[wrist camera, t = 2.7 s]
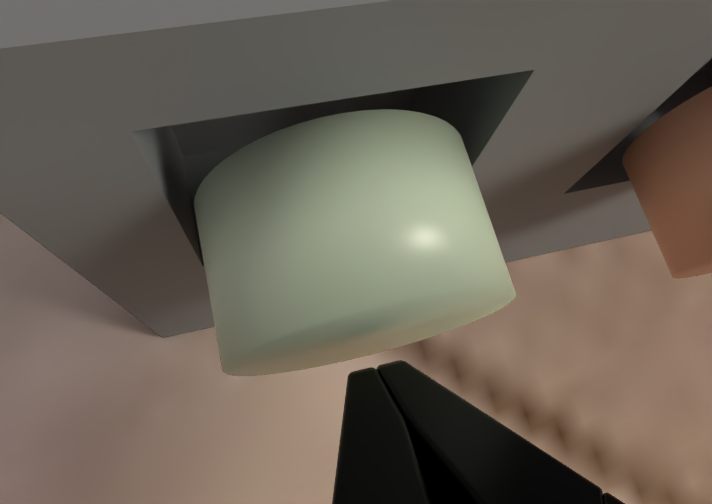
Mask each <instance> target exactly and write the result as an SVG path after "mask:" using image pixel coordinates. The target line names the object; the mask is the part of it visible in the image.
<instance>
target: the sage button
mask: <svg viewBox="0 0 712 504" xmlns="http://www.w3.org/2000/svg"><path fill="white" fill-rule="evenodd" d="M194 209H195V215H196V221H197V226H198V232H199V238H200V244H201V250H202V255H203V261H204V267H205V273H206V278H207V284H208V290H209V296H210V302H211V307H212V313H213V319H214V325H215V330H216V336H217V342H218V348H219V354H220V359H221V365H222V370H223V372H224V373H226V374H228V375H234V376H256V375H268V374H276V373H284V372H290V371H297V370H302V369H308V368H313V367H318V366H323V365H328V364H333V363H337V362H342V361H346V360H351V359H355V358H359V357H363V356H367V355H371V354H375V353H379V352H382V351H386V350H390V349H393V348H397V347H400V346H404V345H407V344H410V343H414V342H417V341H420V340H423V339H427V338H430V337H433V336H436V335H439V334H442V333H445V332H447V331H450V330H453V329H456V328H458V327H461V326H464V325H466V324H469V323H471V322H474V321H476V320H479V319H481V318H483V317H485V316H487V315H490V314H492V313H494V312H496V311H498V310H499V309H501V308H503V307H505V306H506V305H508V304H509V303H510V302H512V301H513V300H514V299H515V297H516V292H515V289H514V286H513V283H512V281H511V278H510V275H509V272H508V269H507V266H506V263H505V261H504V258H503V255H502V252H501V249H500V246H499V243H498V240H497V238H496V235H495V232H494V229H493V226H492V223H491V220H490V217H489V215H488V212H487V209H486V206H485V203H484V200H483V197H482V194H481V192H480V189H479V186H478V183H477V180H476V177H475V174H474V172H473V169H472V166H471V163H470V160H469V157H468V154H467V151H466V149H465V146H464V143H463V140H462V138H461V135H460V134H459V132H458V131H457V130H456V129H455V128H454V127H453V126H452V125H450V124H449V123H448V122H446V121H444V120H442V119H440V118H437V117H435V116H432V115H428V114H425V113H421V112H414V111H407V110H391V109H381V110H363V111H355V112H346V113H340V114H335V115H330V116H325V117H320V118H317V119H313V120H309V121H305V122H302V123H298V124H295V125H293V126H290V127H287V128H284V129H281V130H278V131H276V132H274V133H271V134H269V135H267V136H264V137H262V138H260V139H258V140H256V141H254V142H252V143H250V144H248V145H246V146H245V147H243V148H241V149H239V150H238V151H236V152H235V153H233V154H232V155H230V156H229V157H227V158H226V159H224V160H223V161H222V162H221V163H220V164H218V165H217V166H216V167H215V168H214V169H213V170H212V171H211V172H210V173H209V174H208V175H207V176H206V177H205V178H204V180H203V181H202V183H201V184H200V186H199V188H198V189H197V192H196V195H195V198H194Z"/></svg>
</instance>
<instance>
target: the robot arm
mask: <svg viewBox="0 0 712 504" xmlns="http://www.w3.org/2000/svg"><path fill="white" fill-rule="evenodd" d="M332 504H625V503H623V502H622V501H620V500H619V499H617V498H615V497H614V496H612V495H611V494H609V493H604V494H603V493H602V489H601V488H600V487H598V486H597V485H595V484H593V483H592V482H590V481H589V480H587V479H586V478H584V477H583V476H581V475H580V474H578V473H576V472H575V471H573V470H572V469H570V468H569V467H567V466H566V465H564V464H563V463H561V462H559V461H558V460H556V459H555V458H553V457H552V456H550V455H549V454H547V453H546V452H544V451H542V450H541V449H539V448H538V447H536V446H535V445H533V444H532V443H530V442H529V441H527V440H526V439H524V438H522V437H521V436H519V435H518V434H516V433H515V432H513V431H512V430H510V429H509V428H507V427H505V426H504V425H502V424H501V423H499V422H498V421H496V420H495V419H493V418H492V417H490V416H488V415H487V414H485V413H484V412H482V411H481V410H479V409H478V408H476V407H475V406H473V405H472V404H470V403H468V402H467V401H465V400H464V399H462V398H461V397H459V396H458V395H456V394H455V393H453V392H451V391H450V390H448V389H447V388H445V387H444V386H442V385H441V384H439V383H438V382H436V381H434V380H433V379H431V378H430V377H428V376H427V375H425V374H424V373H422V372H421V371H419V370H417V369H416V368H414V367H413V366H411V365H410V364H408V363H407V362H405V361H402V360H400V361H395V362H391V363H387V364H383V365H380V366H378V367H377V369H375V368H372V367H371V368H366V369H362V370H358V371H354V372H351V373H350V374H349V375H348V380H347V388H346V396H345V404H344V412H343V420H342V429H341V437H340V445H339V453H338V461H337V469H336V477H335V485H334V493H333V501H332Z"/></svg>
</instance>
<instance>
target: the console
mask: <svg viewBox="0 0 712 504" xmlns="http://www.w3.org/2000/svg"><path fill="white" fill-rule="evenodd" d="M711 86H712V0H0V213H1V214H2V215H4V216H5V217H6V218H8V219H9V220H10V221H11V222H13V223H14V224H15V225H17V226H18V227H19V228H21V229H22V230H23V231H24V232H26V233H27V234H28V235H30V236H31V237H32V238H34V239H35V240H36V241H37V242H39V243H40V244H41V245H43V246H44V247H45V248H47V249H48V250H49V251H50V252H52V253H53V254H54V255H56V256H57V257H58V258H60V259H61V260H62V261H64V262H65V263H66V264H67V265H69V266H70V267H71V268H73V269H74V270H75V271H77V272H78V273H79V274H80V275H82V276H83V277H84V278H86V279H87V280H88V281H90V282H91V283H92V284H93V285H95V286H96V287H97V288H99V289H100V290H101V291H103V292H104V293H105V294H106V295H108V296H109V297H110V298H112V299H113V300H114V301H116V302H117V303H118V304H119V305H121V306H122V307H123V308H125V309H126V310H127V311H129V312H130V313H131V314H132V315H134V316H135V317H136V318H138V319H139V320H140V321H142V322H143V323H144V324H145V325H147V326H148V327H149V328H151V329H152V330H153V331H155V332H156V333H157V334H159V335H160V336H161V337H162V338H164V337H169V336H173V335H178V334H182V333H187V332H191V331H196V330H200V329H205V328H210V327H214V326H215V325H214V319H213V313H212V307H211V302H210V296H209V290H208V284H207V278H206V273H205V267H204V261H203V255H202V250H201V244H200V238H199V232H198V226H197V221H196V215H195V209H194V198H195V195H196V192H197V189H198V188H199V186H200V184H201V183H202V181H203V180H204V178H205V177H206V176H207V175H208V174H209V173H210V172H211V171H212V170H213V169H214V168H215V167H216V166H217V165H218V164H220V163H221V162H222V161H223V160H224V159H226V158H227V157H229V156H230V155H232V154H233V153H235V152H236V151H238V150H239V149H241V148H243V147H245V146H246V145H248V144H250V143H252V142H254V141H256V140H258V139H260V138H262V137H264V136H267V135H269V134H271V133H274V132H276V131H278V130H281V129H284V128H287V127H290V126H293V125H295V124H298V123H302V122H305V121H309V120H313V119H317V118H320V117H325V116H330V115H335V114H340V113H346V112H355V111H363V110H381V109H391V110H407V111H414V112H421V113H425V114H428V115H432V116H435V117H437V118H440V119H442V120H444V121H446V122H448V123H449V124H450V125H452V126H453V127H454V128H455V129H456V130H457V131H458V132H459V134H460V135H461V138H462V140H463V143H464V146H465V149H466V151H467V154H468V157H469V160H470V163H471V166H472V169H473V172H474V174H475V177H476V180H477V183H478V186H479V189H480V192H481V194H482V197H483V200H484V203H485V206H486V209H487V212H488V215H489V217H490V220H491V223H492V226H493V229H494V232H495V235H496V238H497V240H498V243H499V246H500V249H501V252H502V255H503V258H504V261H505V262H510V261H514V260H519V259H523V258H528V257H532V256H537V255H541V254H546V253H551V252H555V251H560V250H564V249H569V248H573V247H578V246H582V245H587V244H591V243H596V242H601V241H605V240H610V239H614V238H619V237H623V236H628V235H632V234H637V233H641V232H646V231H651V230H652V229H651V227H650V225H649V222H648V220H647V218H646V216H645V213H644V211H643V209H642V207H641V204H640V202H639V200H638V198H637V195H636V193H635V191H634V189H633V186H632V184H631V182H630V179H629V177H628V175H627V173H626V170H625V168H624V166H623V164H622V158H623V155H624V153H625V151H626V150H627V148H628V147H629V146H630V144H631V143H632V142H633V141H634V140H635V139H636V138H637V137H638V136H639V135H640V134H641V133H642V132H643V131H644V130H646V129H647V128H648V127H649V126H651V125H652V124H653V123H654V122H656V121H657V120H658V119H660V118H661V117H663V116H664V115H665V114H667V113H668V112H670V111H671V110H673V109H674V108H676V107H677V106H679V105H680V104H682V103H684V102H685V101H687V100H689V99H690V98H692V97H694V96H695V95H697V94H699V93H700V92H702V91H704V90H706V89H708V88H710V87H711Z"/></svg>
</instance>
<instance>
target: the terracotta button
mask: <svg viewBox="0 0 712 504" xmlns="http://www.w3.org/2000/svg"><path fill="white" fill-rule="evenodd" d="M622 164H623V166H624V168H625V170H626V173H627V175H628V177H629V179H630V182H631V184H632V186H633V189H634V191H635V193H636V195H637V198H638V200H639V202H640V204H641V207H642V209H643V211H644V213H645V216H646V218H647V220H648V222H649V225H650V227H651V229H652V232H653V234H654V236H655V238H656V241H657V243H658V245H659V247H660V250H661V252H662V254H663V256H664V259H665V261H666V263H667V265H668V268H669V270H670V272H671V275H672V277H673V278H686V277H692V276H698V275H702V274H707V273H711V272H712V86H711V87H710V88H708V89H706V90H704V91H702V92H700V93H699V94H697V95H695V96H694V97H692V98H690V99H689V100H687V101H685V102H684V103H682V104H680V105H679V106H677V107H676V108H674V109H673V110H671V111H670V112H668V113H667V114H665V115H664V116H663V117H661V118H660V119H658V120H657V121H656V122H654V123H653V124H652V125H651V126H649V127H648V128H647V129H646V130H644V131H643V132H642V133H641V134H640V135H639V136H638V137H637V138H636V139H635V140H634V141H633V142H632V143H631V144H630V146H629V147H628V148H627V150H626V151H625V153H624V155H623V158H622Z"/></svg>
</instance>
